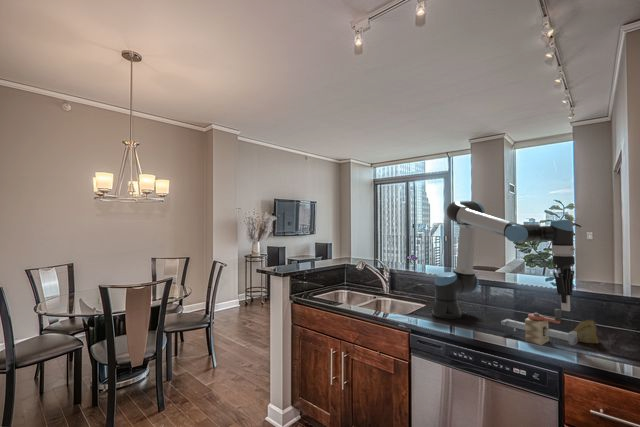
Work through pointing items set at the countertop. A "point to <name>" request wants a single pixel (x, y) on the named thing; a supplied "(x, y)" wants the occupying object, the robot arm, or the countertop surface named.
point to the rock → (587, 332)
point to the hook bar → (545, 331)
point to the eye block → (536, 331)
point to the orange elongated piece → (540, 317)
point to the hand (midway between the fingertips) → (565, 310)
